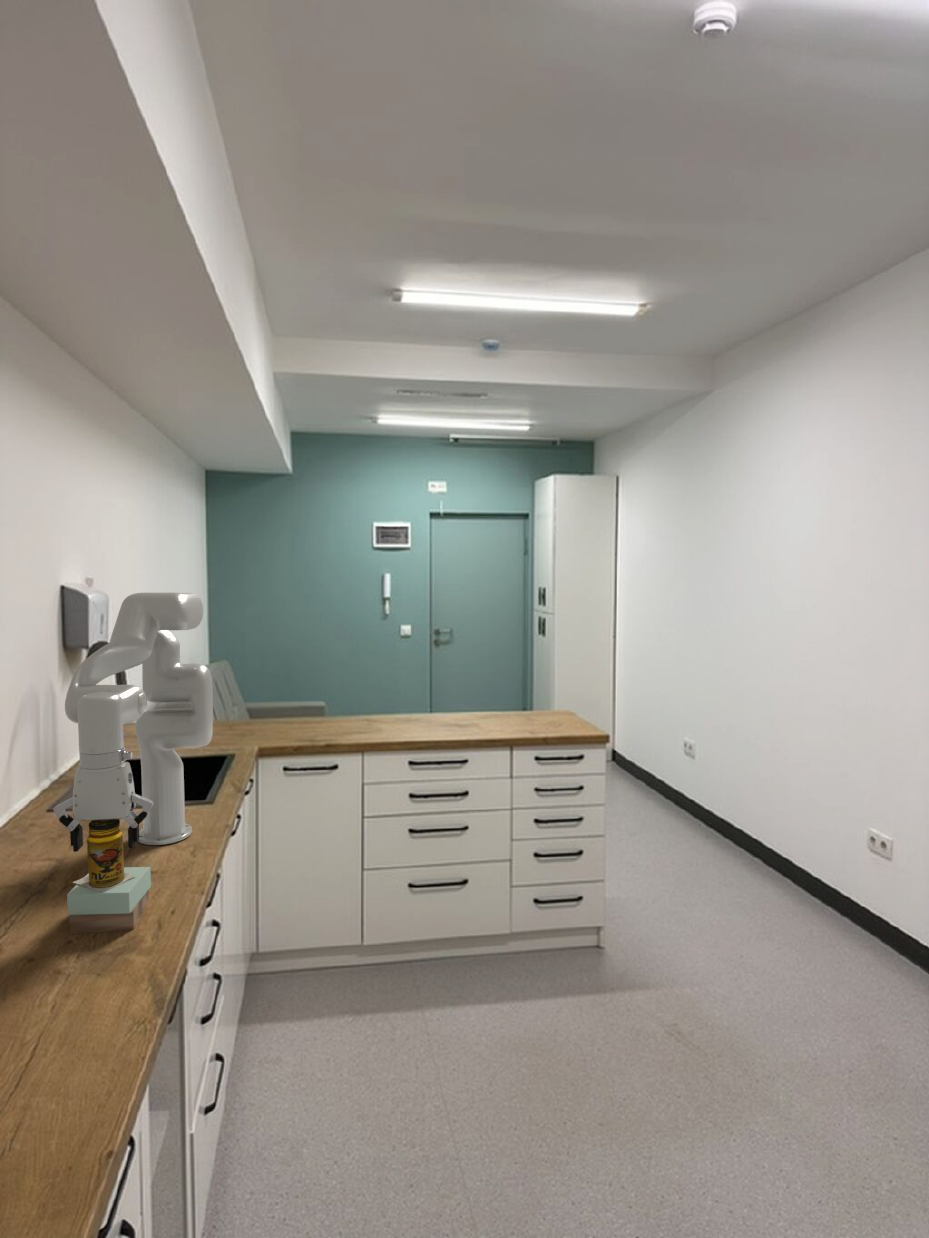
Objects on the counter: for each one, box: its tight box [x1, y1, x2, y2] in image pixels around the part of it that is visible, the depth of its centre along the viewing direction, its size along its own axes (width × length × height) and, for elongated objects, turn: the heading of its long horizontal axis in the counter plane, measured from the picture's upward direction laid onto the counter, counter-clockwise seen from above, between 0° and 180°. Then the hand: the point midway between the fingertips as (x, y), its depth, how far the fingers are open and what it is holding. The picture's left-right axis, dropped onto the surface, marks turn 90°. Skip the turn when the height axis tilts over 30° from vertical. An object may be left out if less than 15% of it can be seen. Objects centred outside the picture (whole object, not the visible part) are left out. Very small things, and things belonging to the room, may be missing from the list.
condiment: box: [72, 819, 135, 892], centre depth 139 cm, size 7×8×12 cm
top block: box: [66, 866, 152, 916], centre depth 139 cm, size 11×11×4 cm
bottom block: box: [68, 890, 150, 935], centre depth 140 cm, size 11×11×4 cm
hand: (105, 847), depth 138 cm, fingers open, 9 cm apart
